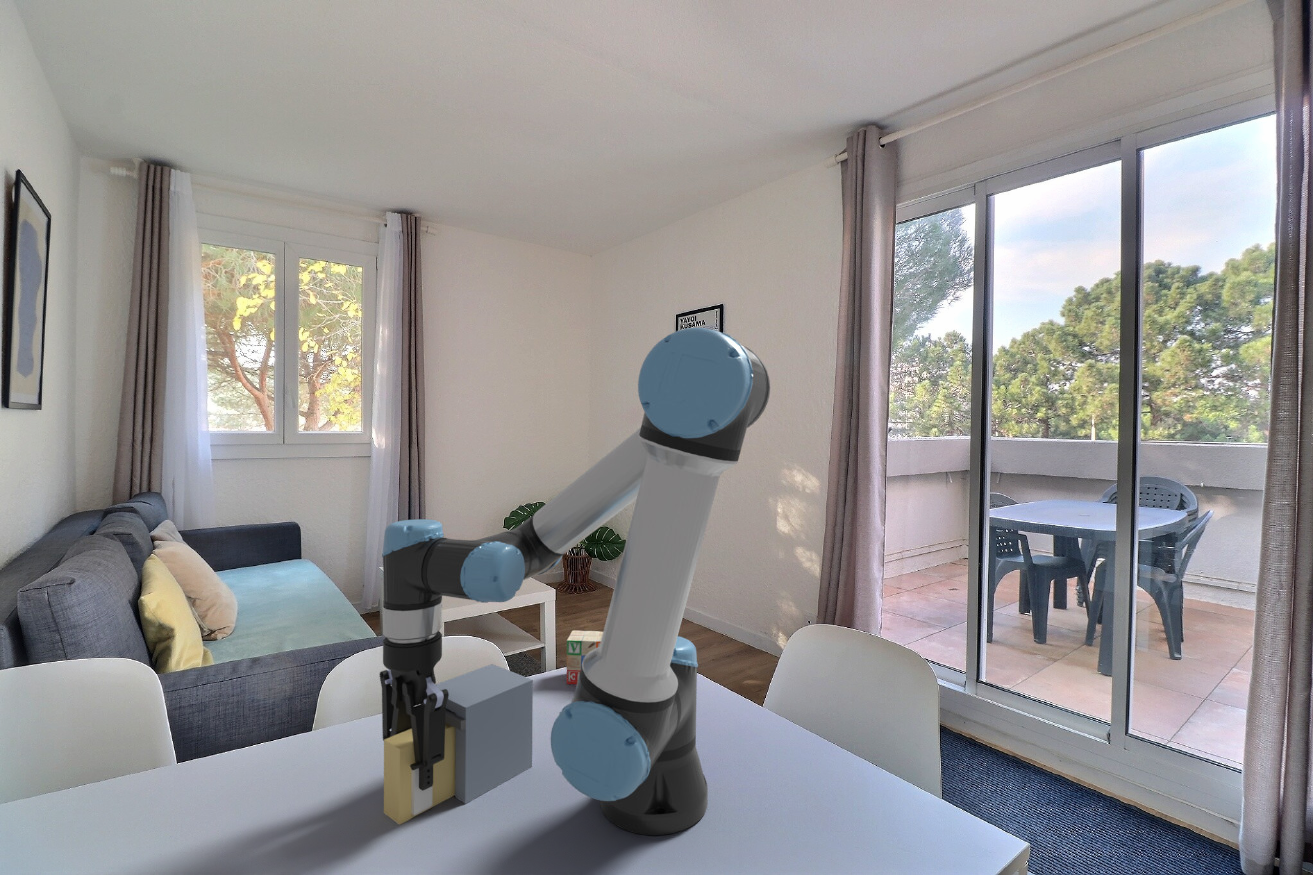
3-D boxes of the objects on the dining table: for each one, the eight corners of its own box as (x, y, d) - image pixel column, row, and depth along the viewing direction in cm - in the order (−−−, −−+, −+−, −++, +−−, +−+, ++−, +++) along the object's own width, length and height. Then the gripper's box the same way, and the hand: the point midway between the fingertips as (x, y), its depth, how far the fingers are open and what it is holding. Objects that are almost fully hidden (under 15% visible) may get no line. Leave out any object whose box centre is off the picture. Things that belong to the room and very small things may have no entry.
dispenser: (532, 766, 94) (532, 679, 94) (460, 806, 84) (460, 709, 84) (491, 745, 101) (492, 663, 100) (420, 780, 90) (420, 689, 90)
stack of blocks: (565, 685, 125) (566, 625, 124) (571, 672, 131) (572, 615, 131) (670, 689, 123) (671, 628, 123) (671, 676, 129) (672, 619, 129)
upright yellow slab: (487, 777, 92) (488, 710, 91) (399, 824, 80) (399, 749, 80) (471, 767, 94) (471, 703, 94) (383, 812, 83) (384, 739, 83)
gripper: (474, 640, 81) (473, 813, 82) (405, 615, 92) (404, 769, 92) (422, 656, 75) (421, 843, 76) (355, 627, 86) (354, 792, 86)
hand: (412, 802), depth 84 cm, fingers closed on upright yellow slab, 4 cm apart
